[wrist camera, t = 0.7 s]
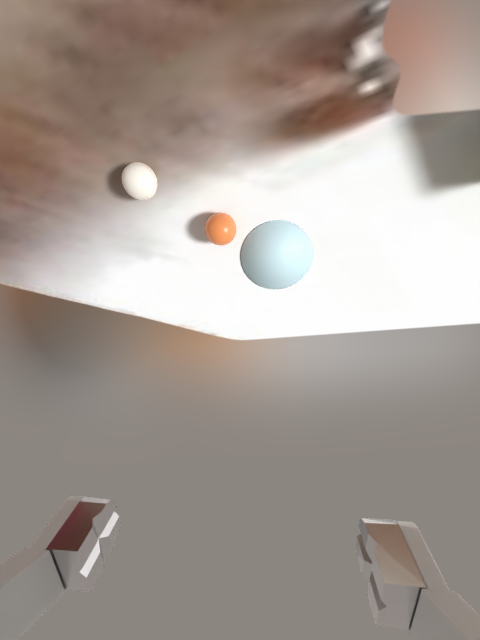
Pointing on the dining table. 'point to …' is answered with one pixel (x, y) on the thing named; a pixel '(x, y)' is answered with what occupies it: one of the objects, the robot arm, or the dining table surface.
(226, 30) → the dining table surface
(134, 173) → the cue ball
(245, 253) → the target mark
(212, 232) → the orange ball
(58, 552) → the robot arm
